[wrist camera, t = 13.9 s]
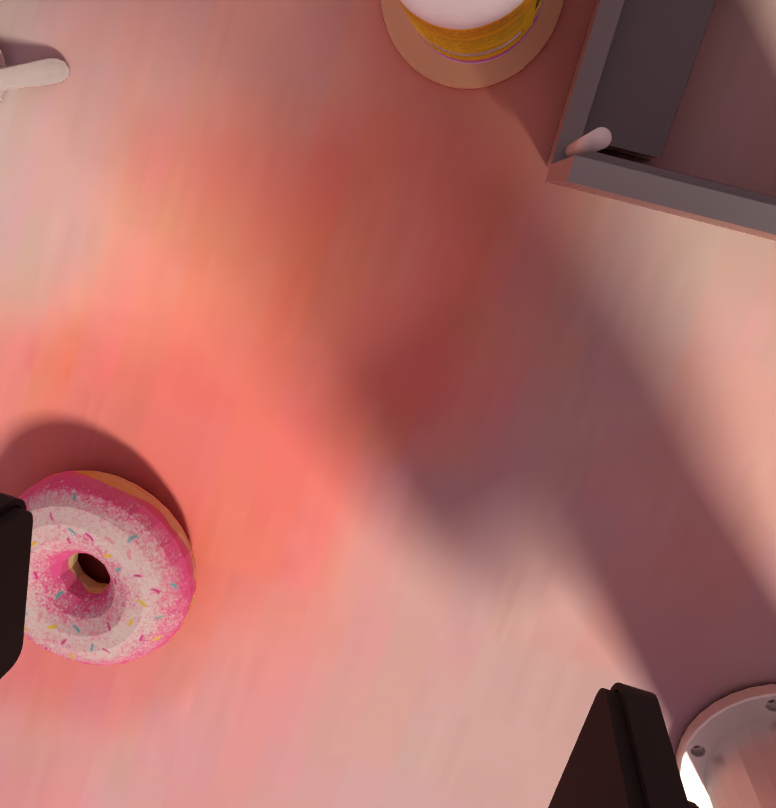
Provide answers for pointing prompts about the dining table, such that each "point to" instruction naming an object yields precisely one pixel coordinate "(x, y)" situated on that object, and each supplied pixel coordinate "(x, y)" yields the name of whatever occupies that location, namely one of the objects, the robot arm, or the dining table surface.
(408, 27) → the pad
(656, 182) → the case
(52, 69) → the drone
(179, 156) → the dining table surface
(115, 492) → the donut
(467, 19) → the supplement bottle
